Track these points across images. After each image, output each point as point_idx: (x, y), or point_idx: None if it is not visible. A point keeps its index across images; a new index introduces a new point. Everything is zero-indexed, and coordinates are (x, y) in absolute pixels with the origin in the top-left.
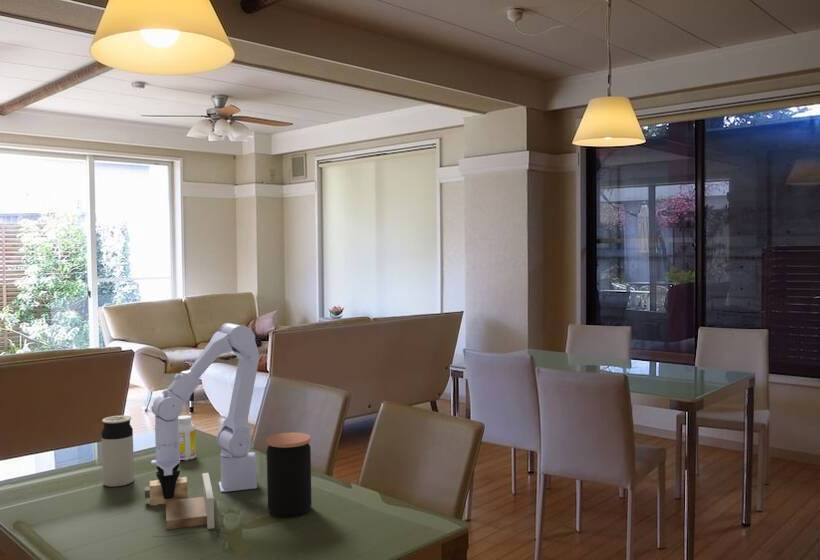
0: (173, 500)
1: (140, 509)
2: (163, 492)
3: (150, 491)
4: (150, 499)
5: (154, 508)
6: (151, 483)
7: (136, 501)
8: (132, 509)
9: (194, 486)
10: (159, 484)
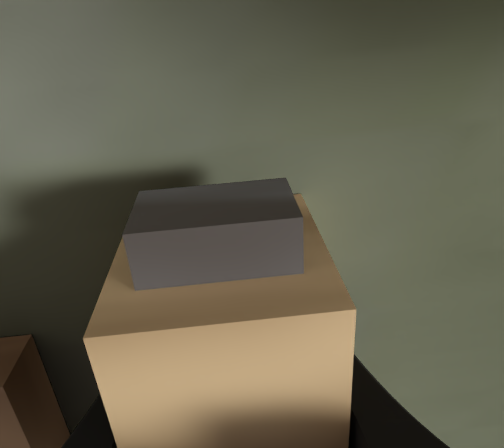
0: (9, 435)
1: (42, 132)
2: (95, 401)
3: (106, 296)
4: (121, 243)
5: (57, 251)
6: (217, 343)
7: (306, 61)
8: (50, 45)
9: (479, 437)
10: (141, 432)
